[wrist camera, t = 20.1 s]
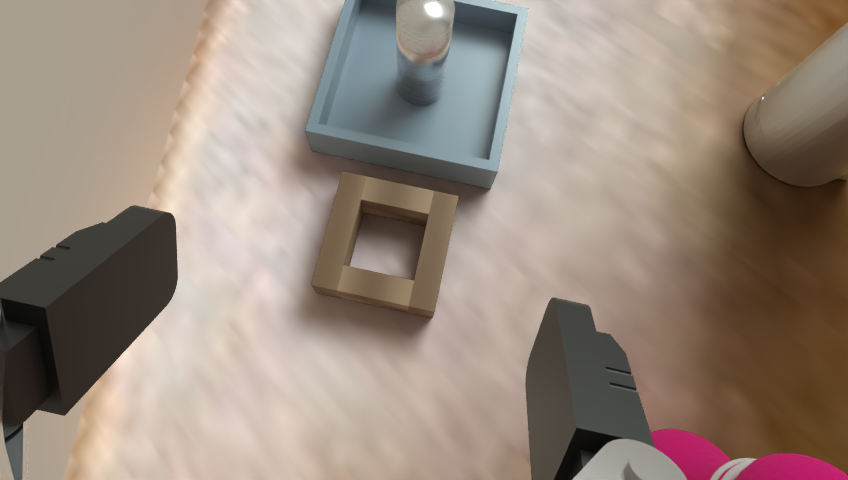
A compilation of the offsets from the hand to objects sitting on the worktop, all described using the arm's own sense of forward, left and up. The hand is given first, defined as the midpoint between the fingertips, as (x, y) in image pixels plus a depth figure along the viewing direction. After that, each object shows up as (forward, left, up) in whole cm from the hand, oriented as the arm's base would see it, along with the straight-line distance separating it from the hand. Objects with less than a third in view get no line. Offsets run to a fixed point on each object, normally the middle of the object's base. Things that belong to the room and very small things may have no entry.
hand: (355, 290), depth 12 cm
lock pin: (+2, -24, -30) cm, 38 cm away
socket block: (+2, -9, -31) cm, 32 cm away
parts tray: (+2, -24, -31) cm, 39 cm away
